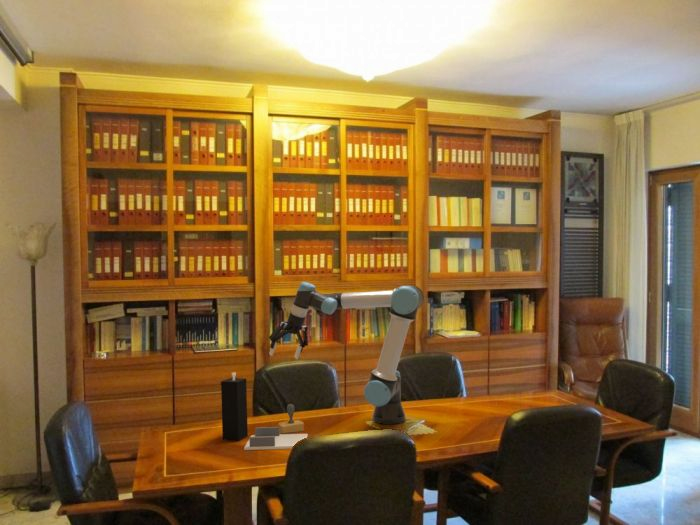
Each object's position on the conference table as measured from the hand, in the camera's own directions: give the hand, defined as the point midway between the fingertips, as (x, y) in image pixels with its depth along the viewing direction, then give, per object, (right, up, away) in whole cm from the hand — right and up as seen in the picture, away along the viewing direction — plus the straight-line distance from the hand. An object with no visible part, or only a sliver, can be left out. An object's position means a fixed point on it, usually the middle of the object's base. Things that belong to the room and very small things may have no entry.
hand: (283, 356), depth 256 cm
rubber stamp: (+5, -30, -16) cm, 35 cm away
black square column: (-18, -31, -24) cm, 43 cm away
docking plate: (+1, -30, -32) cm, 44 cm away
